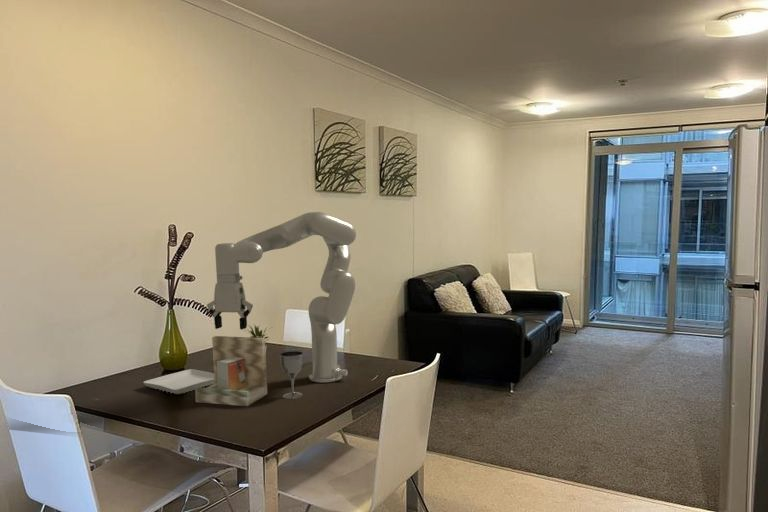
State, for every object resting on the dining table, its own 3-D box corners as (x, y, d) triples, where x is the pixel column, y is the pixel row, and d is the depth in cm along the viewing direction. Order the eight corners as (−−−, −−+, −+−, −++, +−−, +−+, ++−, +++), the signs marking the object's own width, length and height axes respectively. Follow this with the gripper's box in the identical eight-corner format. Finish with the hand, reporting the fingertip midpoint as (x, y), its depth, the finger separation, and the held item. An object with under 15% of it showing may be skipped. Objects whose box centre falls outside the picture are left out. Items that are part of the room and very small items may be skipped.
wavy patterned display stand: (267, 393, 194) (264, 338, 193) (247, 406, 182) (245, 346, 180) (218, 390, 200) (215, 336, 199) (195, 402, 188) (192, 344, 186)
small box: (228, 393, 186) (227, 363, 185) (217, 391, 189) (216, 361, 188) (246, 387, 193) (245, 357, 192) (235, 385, 196) (234, 356, 195)
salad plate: (191, 376, 221) (190, 367, 221) (225, 383, 209) (224, 375, 209) (141, 390, 204) (141, 381, 204) (176, 399, 192) (175, 390, 192)
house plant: (233, 360, 242) (231, 324, 241) (257, 354, 254) (255, 319, 252) (255, 365, 234) (253, 327, 233) (279, 357, 245) (277, 321, 244)
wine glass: (294, 400, 186) (292, 357, 185) (276, 397, 190) (274, 354, 189) (309, 394, 193) (307, 352, 192) (292, 390, 197) (290, 349, 196)
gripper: (256, 277, 190) (258, 326, 191) (212, 277, 195) (215, 325, 196) (244, 280, 183) (247, 331, 184) (199, 280, 188) (202, 330, 189)
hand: (230, 328), depth 190 cm, fingers open, 9 cm apart
